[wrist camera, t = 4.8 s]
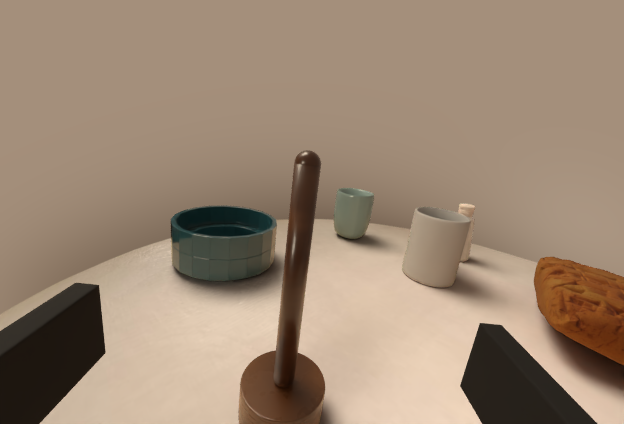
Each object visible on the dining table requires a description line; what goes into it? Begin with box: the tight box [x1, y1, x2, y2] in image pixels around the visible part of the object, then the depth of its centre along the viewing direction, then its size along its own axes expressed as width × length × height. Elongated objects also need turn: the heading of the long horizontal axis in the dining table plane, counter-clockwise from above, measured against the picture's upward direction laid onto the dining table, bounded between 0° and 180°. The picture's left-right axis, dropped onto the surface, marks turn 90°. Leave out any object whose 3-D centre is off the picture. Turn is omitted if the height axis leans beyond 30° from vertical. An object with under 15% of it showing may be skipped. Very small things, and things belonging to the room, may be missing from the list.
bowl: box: [171, 206, 277, 281], centre depth 45 cm, size 15×15×7 cm
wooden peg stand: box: [239, 151, 325, 424], centre depth 20 cm, size 6×6×20 cm
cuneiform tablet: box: [534, 257, 624, 365], centre depth 36 cm, size 22×17×8 cm
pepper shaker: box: [458, 203, 475, 262], centre depth 58 cm, size 5×5×11 cm
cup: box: [334, 188, 374, 239], centre depth 63 cm, size 8×8×10 cm
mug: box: [402, 207, 471, 288], centre depth 49 cm, size 12×8×11 cm
